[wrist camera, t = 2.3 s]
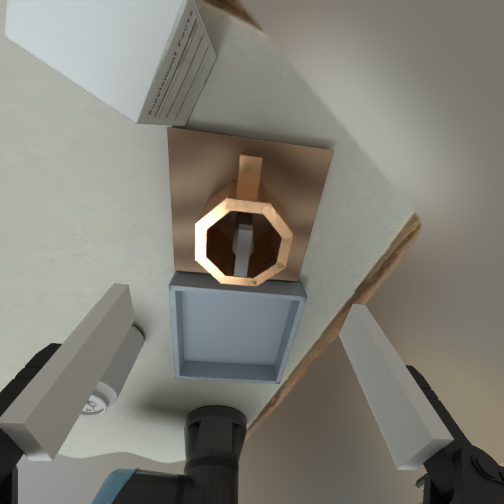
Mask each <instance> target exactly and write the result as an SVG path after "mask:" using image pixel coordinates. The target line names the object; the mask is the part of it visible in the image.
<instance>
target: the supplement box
mask: <svg viewBox="0 0 504 504" xmlns="http://www.w3.org/2000/svg"><path fill="white" fill-rule="evenodd" d="M5 35H6V37H7V38H8V39H9V40H11V41H12V42H14V43H15V44H16V45H18V46H19V47H21V48H22V49H24V50H25V51H27V52H28V53H30V54H31V55H33V56H34V57H35V58H37V59H38V60H40V61H41V62H43V63H44V64H46V65H47V66H49V67H51V68H52V69H54V70H55V71H57V72H58V73H60V74H61V75H62V76H64V77H65V78H67V79H68V80H70V81H71V82H73V83H75V84H76V85H78V86H79V87H81V88H82V89H84V90H85V91H87V92H88V93H90V94H91V95H93V96H94V97H96V98H97V99H99V100H100V101H102V102H103V103H105V104H106V105H108V106H109V107H111V108H112V109H114V110H115V111H117V112H119V113H120V114H122V115H123V116H125V117H126V118H128V119H129V120H131V121H133V122H134V123H136V124H155V125H173V126H185V125H186V123H187V120H188V118H189V116H190V114H191V112H192V109H193V107H194V105H195V103H196V101H197V99H198V97H199V94H200V92H201V90H202V88H203V86H204V84H205V82H206V79H207V77H208V75H209V73H210V71H211V69H212V66H213V64H214V62H215V60H216V58H217V56H216V54H215V51H214V48H213V46H212V43H211V41H210V38H209V36H208V33H207V30H206V28H205V25H204V23H203V20H202V17H201V15H200V12H199V10H198V7H197V5H196V2H195V0H8V2H7V10H6V21H5Z"/></svg>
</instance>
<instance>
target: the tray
mask: <svg viewBox="0 0 504 504" xmlns="http://www.w3.org/2000/svg"><path fill="white" fill-rule="evenodd" d="M169 295H170V310H171V324H172V338H173V352H174V366H175V378H176V379H195V380H215V381H234V382H253V383H273V384H280V381H281V378H282V374H283V371H284V368H285V365H286V362H287V359H288V355H289V352H290V349H291V346H292V343H293V340H294V336H295V333H296V330H297V327H298V324H299V321H300V317H301V314H302V311H303V308H304V305H305V302H306V298H307V296H306V293H305V290H304V287H303V285H302V282H292V281H281V280H269V279H267V280H266V281H264V282H263V283H261V284H259V285H258V286H257V287H256V286H245V285H233V284H222V283H220V282H219V281H218V280H217V279H216V278H214V277H213V276H212V275H211V274H203V273H191V272H180V271H176V272H175V274H174V276H173V278H172V280H171V282H170V284H169Z"/></svg>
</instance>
